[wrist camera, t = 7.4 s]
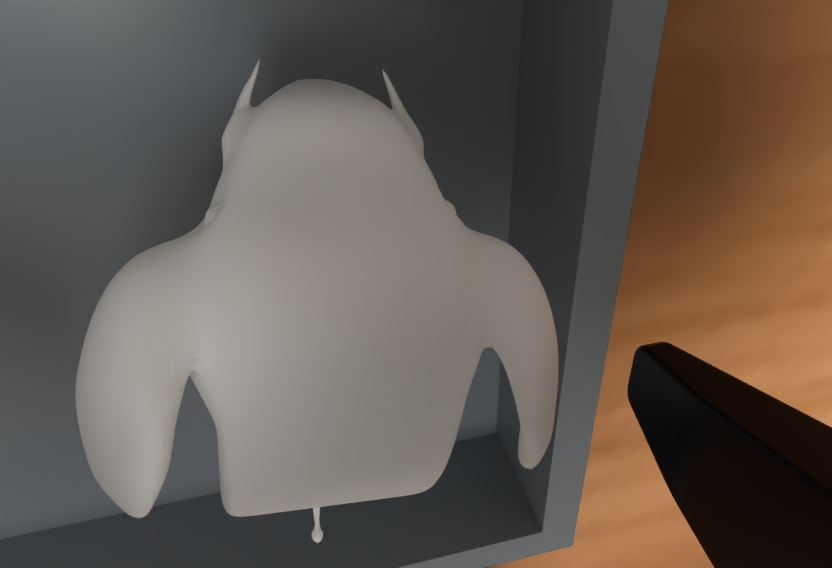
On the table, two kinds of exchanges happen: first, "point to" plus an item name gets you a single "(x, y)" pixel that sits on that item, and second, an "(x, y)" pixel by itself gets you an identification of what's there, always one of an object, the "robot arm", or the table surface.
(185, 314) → the elephant figurine
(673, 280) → the table surface
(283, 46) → the tote
